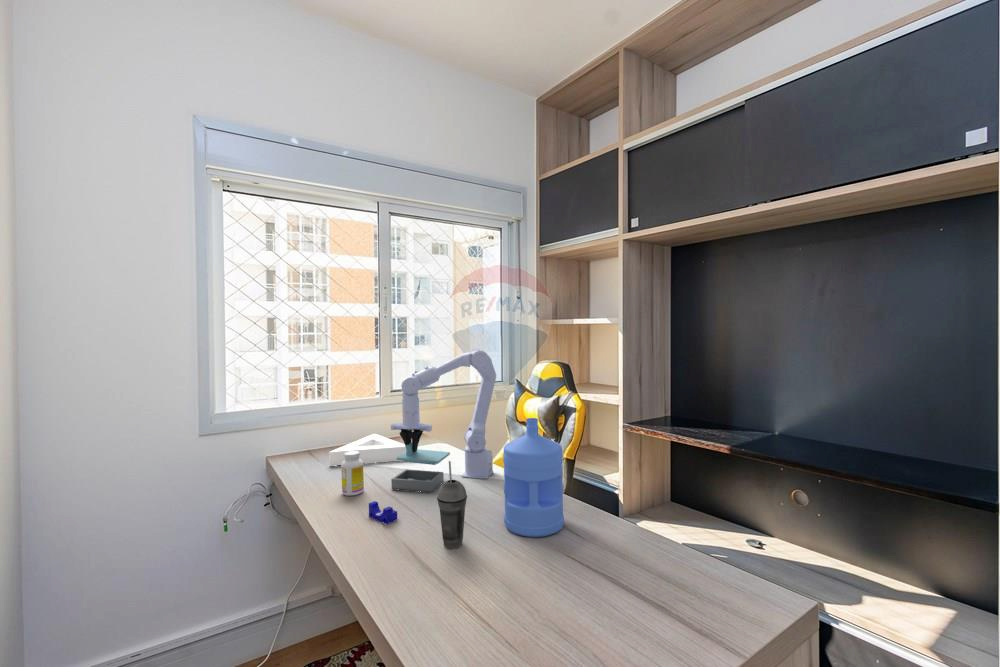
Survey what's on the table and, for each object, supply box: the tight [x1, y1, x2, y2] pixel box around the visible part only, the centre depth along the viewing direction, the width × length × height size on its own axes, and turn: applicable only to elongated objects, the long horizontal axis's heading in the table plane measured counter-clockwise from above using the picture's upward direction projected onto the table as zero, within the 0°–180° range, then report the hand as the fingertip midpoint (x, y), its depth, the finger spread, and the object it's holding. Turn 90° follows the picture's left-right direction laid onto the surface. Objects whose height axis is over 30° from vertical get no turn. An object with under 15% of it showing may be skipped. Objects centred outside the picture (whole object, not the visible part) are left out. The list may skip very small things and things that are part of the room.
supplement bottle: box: [340, 451, 365, 497], centre depth 146 cm, size 7×7×13 cm
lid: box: [397, 441, 451, 466], centre depth 156 cm, size 15×11×5 cm
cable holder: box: [368, 500, 398, 525], centre depth 127 cm, size 8×4×4 cm, turn 51°
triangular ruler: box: [328, 433, 406, 466], centre depth 190 cm, size 30×26×6 cm
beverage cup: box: [436, 460, 468, 549], centre depth 110 cm, size 7×7×20 cm
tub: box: [391, 469, 445, 494], centre depth 151 cm, size 14×10×4 cm
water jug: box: [502, 417, 565, 538], centre depth 120 cm, size 16×16×28 cm
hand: (411, 451), depth 157 cm, fingers closed on lid
